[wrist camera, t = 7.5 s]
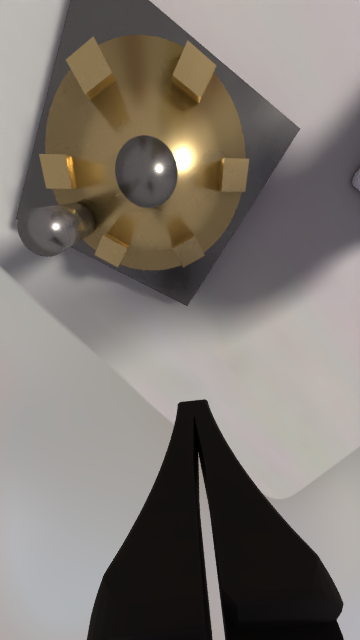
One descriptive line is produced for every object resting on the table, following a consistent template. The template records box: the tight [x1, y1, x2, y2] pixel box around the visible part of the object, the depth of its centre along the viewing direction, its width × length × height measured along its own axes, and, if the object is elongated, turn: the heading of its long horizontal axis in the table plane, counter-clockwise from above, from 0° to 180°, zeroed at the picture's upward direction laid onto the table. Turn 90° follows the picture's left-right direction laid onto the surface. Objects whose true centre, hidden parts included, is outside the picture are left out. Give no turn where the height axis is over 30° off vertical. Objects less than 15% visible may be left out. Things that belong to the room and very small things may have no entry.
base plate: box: [16, 0, 300, 306], centre depth 15 cm, size 12×12×2 cm
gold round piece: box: [18, 35, 249, 270], centre depth 11 cm, size 10×10×6 cm
